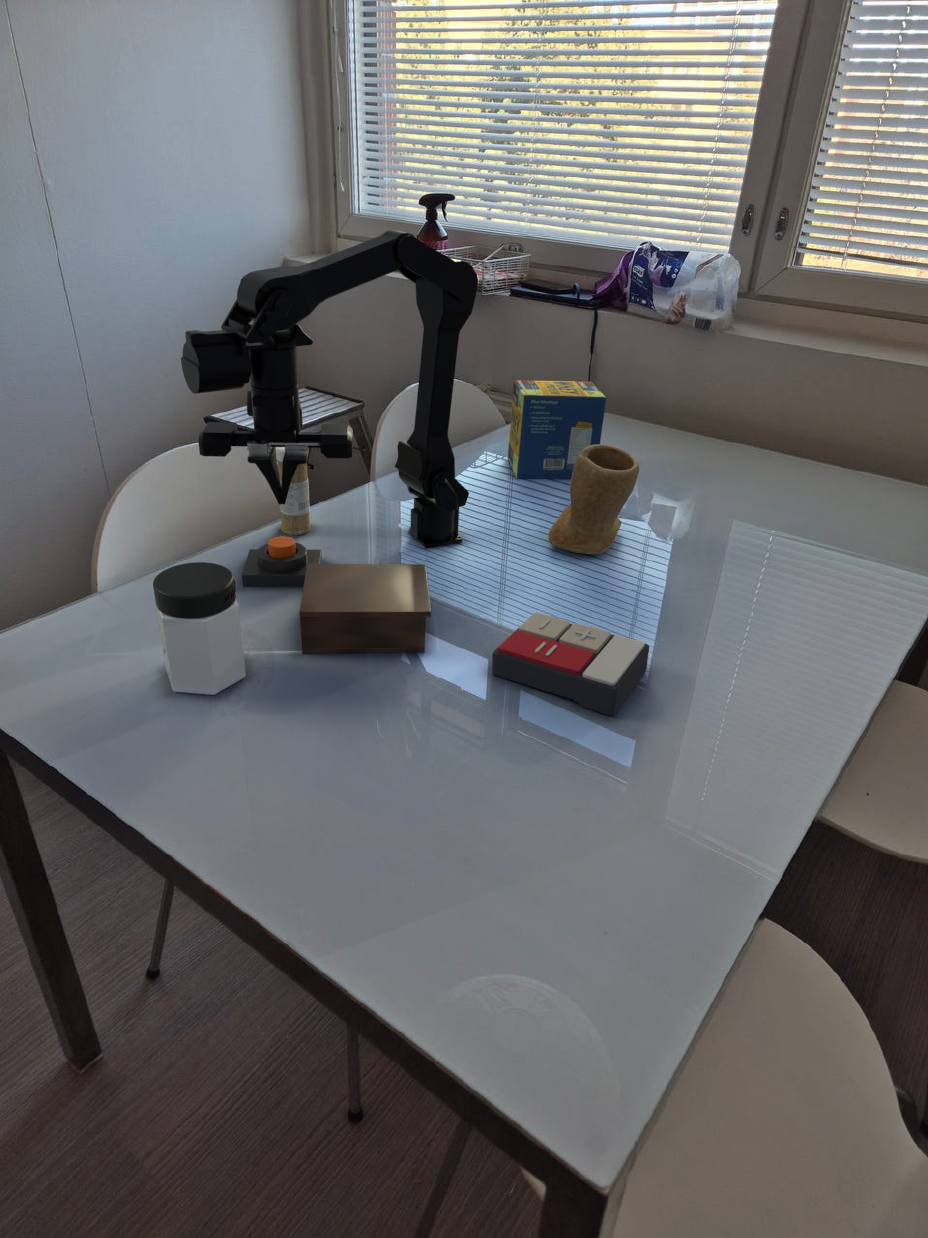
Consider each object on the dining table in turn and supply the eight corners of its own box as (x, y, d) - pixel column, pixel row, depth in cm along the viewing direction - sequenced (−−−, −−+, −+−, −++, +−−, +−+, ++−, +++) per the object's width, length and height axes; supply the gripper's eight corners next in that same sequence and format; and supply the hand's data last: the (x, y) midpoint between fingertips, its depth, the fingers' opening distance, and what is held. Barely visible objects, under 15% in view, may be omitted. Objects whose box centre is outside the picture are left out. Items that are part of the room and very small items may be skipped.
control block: (321, 561, 117) (320, 539, 115) (318, 587, 110) (317, 564, 108) (250, 561, 116) (248, 538, 114) (242, 587, 109) (240, 564, 107)
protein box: (506, 459, 159) (512, 379, 151) (583, 460, 161) (593, 380, 153) (515, 478, 150) (522, 394, 142) (596, 479, 152) (608, 395, 144)
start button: (296, 547, 113) (296, 536, 112) (294, 559, 110) (293, 547, 109) (270, 547, 113) (269, 535, 112) (267, 559, 110) (266, 547, 109)
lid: (425, 568, 106) (425, 564, 105) (431, 617, 95) (431, 611, 95) (307, 568, 104) (307, 563, 104) (299, 617, 93) (299, 611, 93)
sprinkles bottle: (301, 522, 128) (297, 438, 122) (316, 532, 126) (312, 447, 119) (275, 528, 126) (269, 443, 119) (290, 539, 123) (284, 452, 116)
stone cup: (616, 567, 120) (631, 470, 112) (538, 551, 124) (549, 455, 116) (637, 530, 132) (652, 440, 125) (566, 516, 136) (577, 427, 128)
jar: (252, 687, 89) (243, 590, 83) (175, 704, 86) (159, 604, 80) (234, 647, 96) (224, 555, 90) (162, 661, 93) (146, 566, 87)
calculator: (533, 607, 101) (651, 638, 94) (532, 638, 103) (647, 670, 96) (491, 646, 92) (617, 683, 86) (490, 679, 94) (613, 717, 88)
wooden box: (419, 602, 108) (420, 568, 106) (424, 652, 97) (425, 617, 95) (309, 602, 106) (307, 568, 104) (301, 653, 96) (299, 617, 93)
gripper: (352, 370, 108) (354, 482, 116) (207, 366, 106) (219, 480, 114) (350, 392, 98) (353, 513, 106) (191, 388, 96) (205, 511, 104)
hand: (282, 503), depth 108 cm, fingers closed
